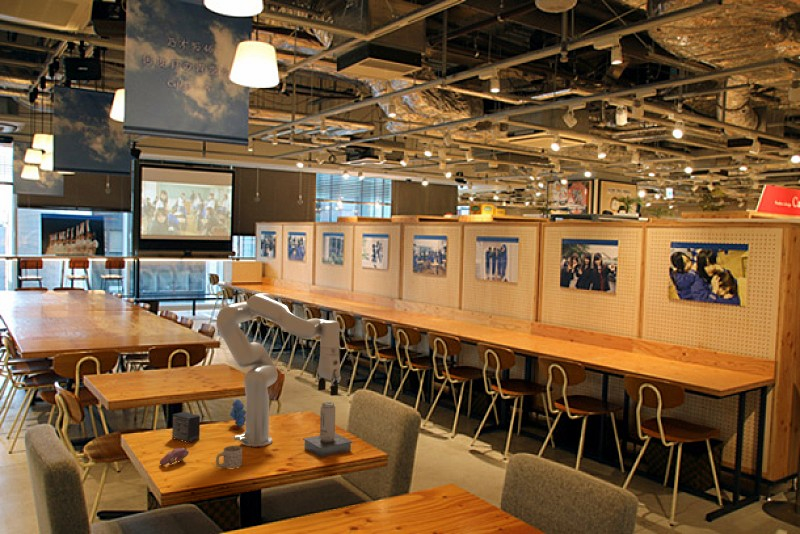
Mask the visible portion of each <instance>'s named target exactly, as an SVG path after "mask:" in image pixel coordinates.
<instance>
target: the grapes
mask: <svg viewBox="0 0 800 534" xmlns="http://www.w3.org/2000/svg"><path fill="white" fill-rule="evenodd" d="M232 406H233V407H232V409H231V411H230V412H229V416H230V417H231V418H232V419H233V420H234V421H235V422H234V424H235V425H236V427H240V428H243V427H244V425H245V423H246V409H244V407H245V404H244V403H242V401H241V400H240V399H239V398H238V399H236V400H234V401H233V402H232Z"/></svg>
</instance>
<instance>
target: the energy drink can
mask: <svg viewBox="0 0 800 534" xmlns="http://www.w3.org/2000/svg"><path fill="white" fill-rule="evenodd" d="M319 417H320V418H319V419H320V423H319V436H320V438H321V440H322V441H324V442H330V441H333V439H334V438H335V433H336V405H335V403H334V402H332V401H325V402H322V403H321V407H320V416H319Z"/></svg>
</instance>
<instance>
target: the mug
mask: <svg viewBox="0 0 800 534" xmlns="http://www.w3.org/2000/svg"><path fill="white" fill-rule="evenodd" d="M215 457H216V458H215V463H216V467H217V468H224V467H225V468H224V469H226V468H237V467H240V466H241V465H242V463H243V447H242V446H239V445H228V446H226V447H224V448H223V452H220V453H219V454H217V455H216V456H215ZM221 457H223V463H222V462H221V463H220V458H221ZM241 467H242V466H241ZM241 467H240V468H241ZM237 469H238V468H237Z"/></svg>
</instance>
